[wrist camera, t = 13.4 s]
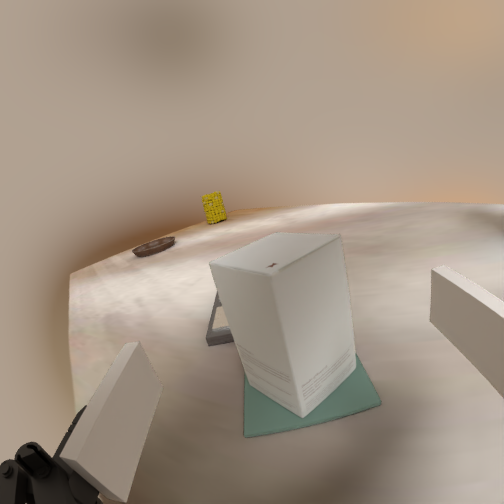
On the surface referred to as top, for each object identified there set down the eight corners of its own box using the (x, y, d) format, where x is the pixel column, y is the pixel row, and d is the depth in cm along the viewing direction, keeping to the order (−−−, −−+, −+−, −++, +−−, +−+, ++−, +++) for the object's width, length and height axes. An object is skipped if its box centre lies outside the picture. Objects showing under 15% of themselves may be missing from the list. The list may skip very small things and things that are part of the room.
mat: (344, 334, 29) (344, 331, 28) (381, 404, 18) (381, 401, 18) (245, 358, 29) (244, 355, 29) (245, 437, 19) (243, 435, 18)
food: (208, 229, 129) (213, 225, 138) (230, 217, 126) (234, 214, 136) (192, 199, 126) (199, 198, 136) (214, 187, 124) (220, 187, 133)
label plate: (250, 282, 50) (248, 274, 50) (252, 337, 33) (248, 327, 33) (221, 289, 51) (218, 281, 50) (208, 346, 33) (204, 336, 33)
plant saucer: (174, 240, 115) (172, 233, 114) (179, 247, 99) (177, 238, 98) (134, 254, 110) (132, 247, 109) (133, 263, 94) (131, 255, 93)
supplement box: (359, 368, 22) (345, 232, 19) (302, 421, 19) (266, 275, 15) (301, 345, 28) (276, 229, 25) (246, 384, 24) (204, 260, 21)
